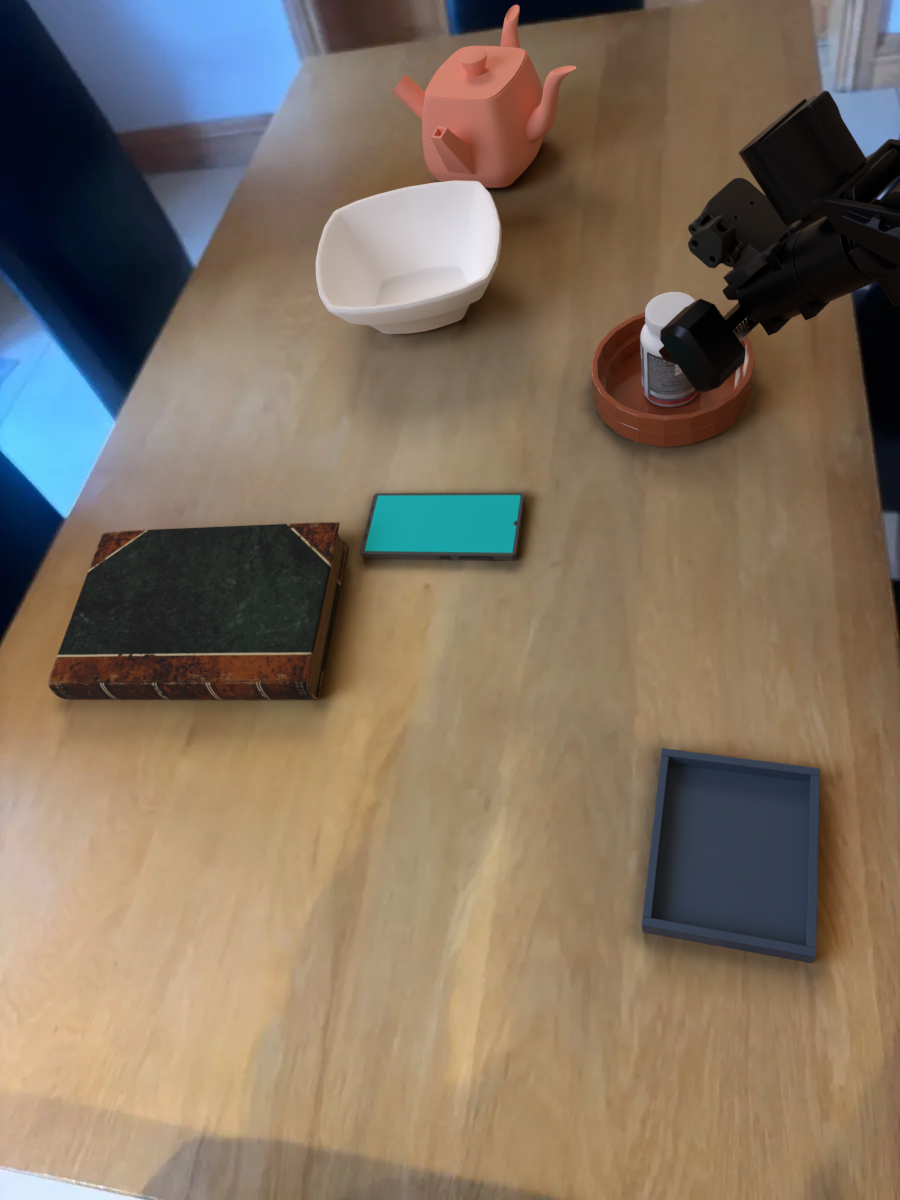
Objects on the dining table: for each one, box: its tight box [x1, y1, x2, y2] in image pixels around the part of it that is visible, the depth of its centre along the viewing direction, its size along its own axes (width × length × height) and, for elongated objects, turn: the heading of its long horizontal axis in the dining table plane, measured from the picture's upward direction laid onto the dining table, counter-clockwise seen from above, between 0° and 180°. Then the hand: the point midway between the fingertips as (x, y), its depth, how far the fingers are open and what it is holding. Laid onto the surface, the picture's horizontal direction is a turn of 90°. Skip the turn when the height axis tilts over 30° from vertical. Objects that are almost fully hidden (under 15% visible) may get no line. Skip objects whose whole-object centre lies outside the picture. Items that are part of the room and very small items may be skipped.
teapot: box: [392, 4, 577, 189], centre depth 113 cm, size 18×18×14 cm
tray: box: [641, 747, 821, 964], centre depth 65 cm, size 13×11×2 cm
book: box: [47, 521, 349, 701], centre depth 85 cm, size 17×4×25 cm
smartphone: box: [359, 492, 526, 561], centre depth 87 cm, size 7×1×15 cm
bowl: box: [315, 181, 502, 335], centre depth 102 cm, size 21×21×9 cm
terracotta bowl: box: [590, 312, 756, 448], centre depth 89 cm, size 15×15×4 cm
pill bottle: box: [640, 291, 698, 407], centre depth 87 cm, size 6×6×10 cm
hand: (694, 324), depth 82 cm, fingers open, 9 cm apart
